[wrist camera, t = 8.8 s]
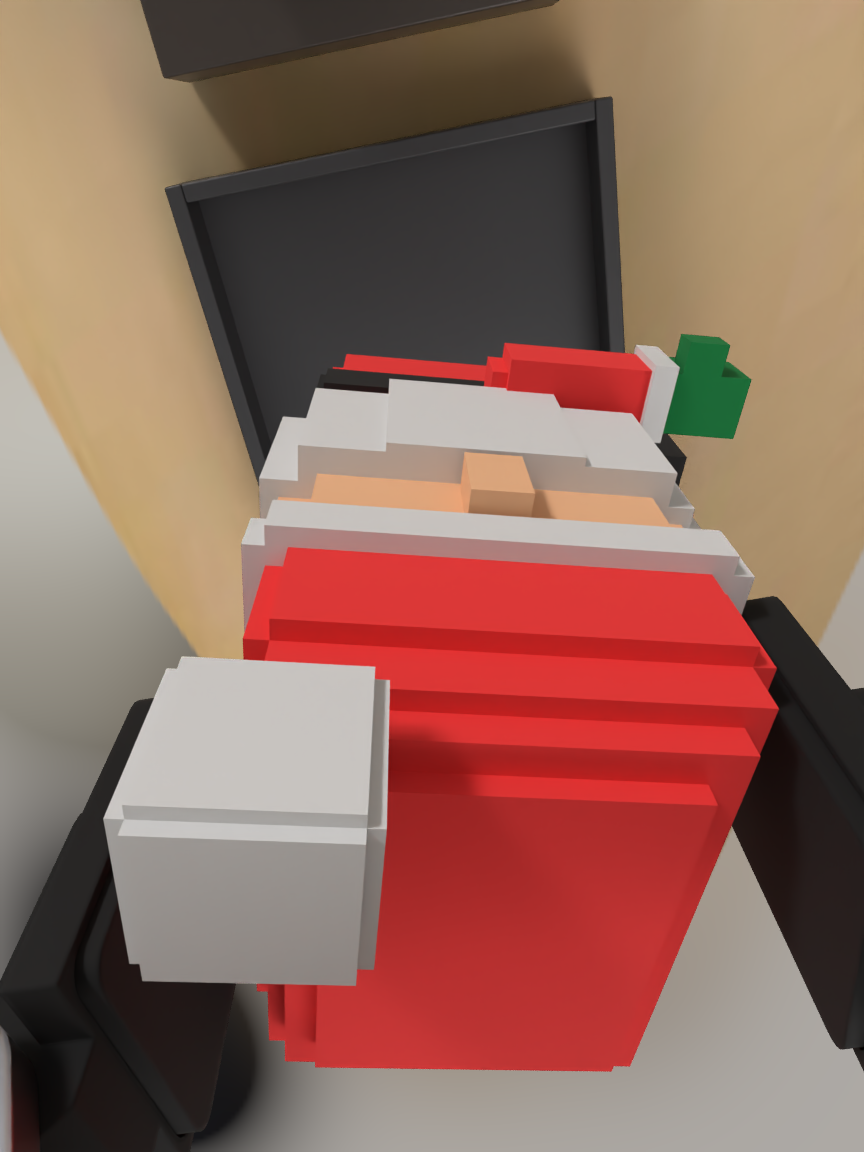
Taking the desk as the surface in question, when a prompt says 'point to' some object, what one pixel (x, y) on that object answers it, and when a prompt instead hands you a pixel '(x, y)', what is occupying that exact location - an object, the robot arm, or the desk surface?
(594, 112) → the tray
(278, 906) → the figurine
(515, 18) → the desk surface
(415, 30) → the console
